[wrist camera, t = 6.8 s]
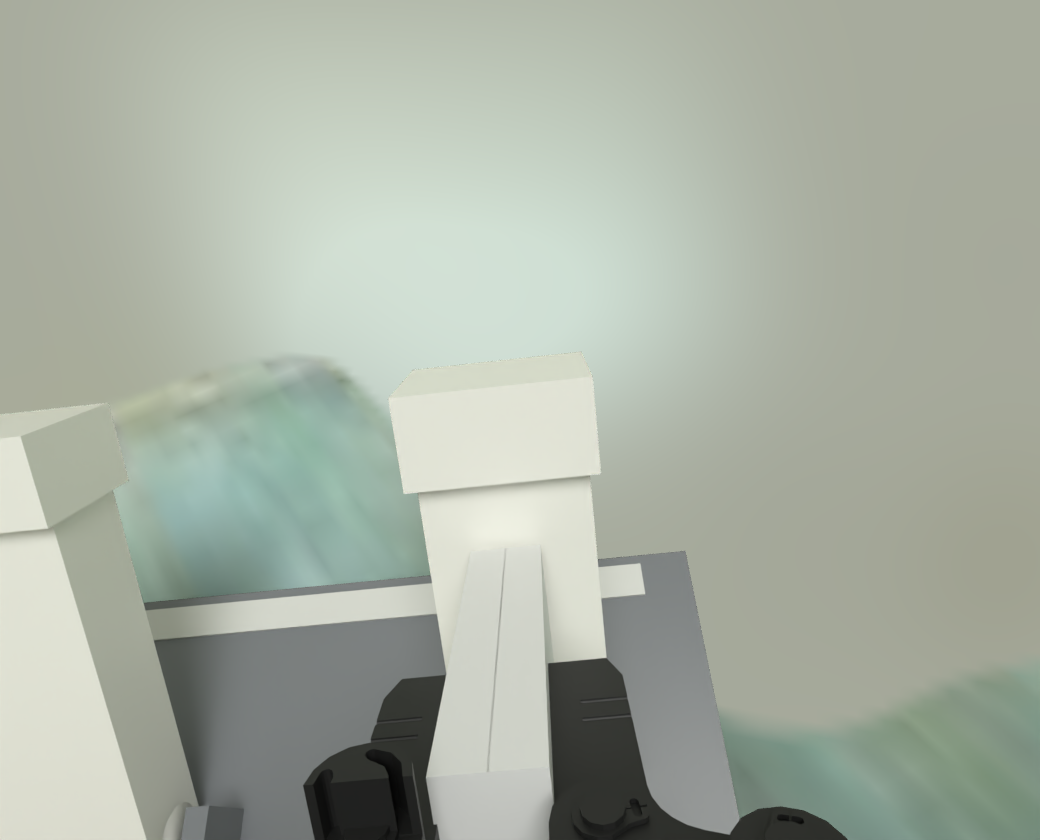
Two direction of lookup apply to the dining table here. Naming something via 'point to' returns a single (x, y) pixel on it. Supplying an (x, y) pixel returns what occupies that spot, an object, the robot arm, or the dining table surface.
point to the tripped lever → (507, 481)
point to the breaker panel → (380, 667)
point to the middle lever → (78, 646)
